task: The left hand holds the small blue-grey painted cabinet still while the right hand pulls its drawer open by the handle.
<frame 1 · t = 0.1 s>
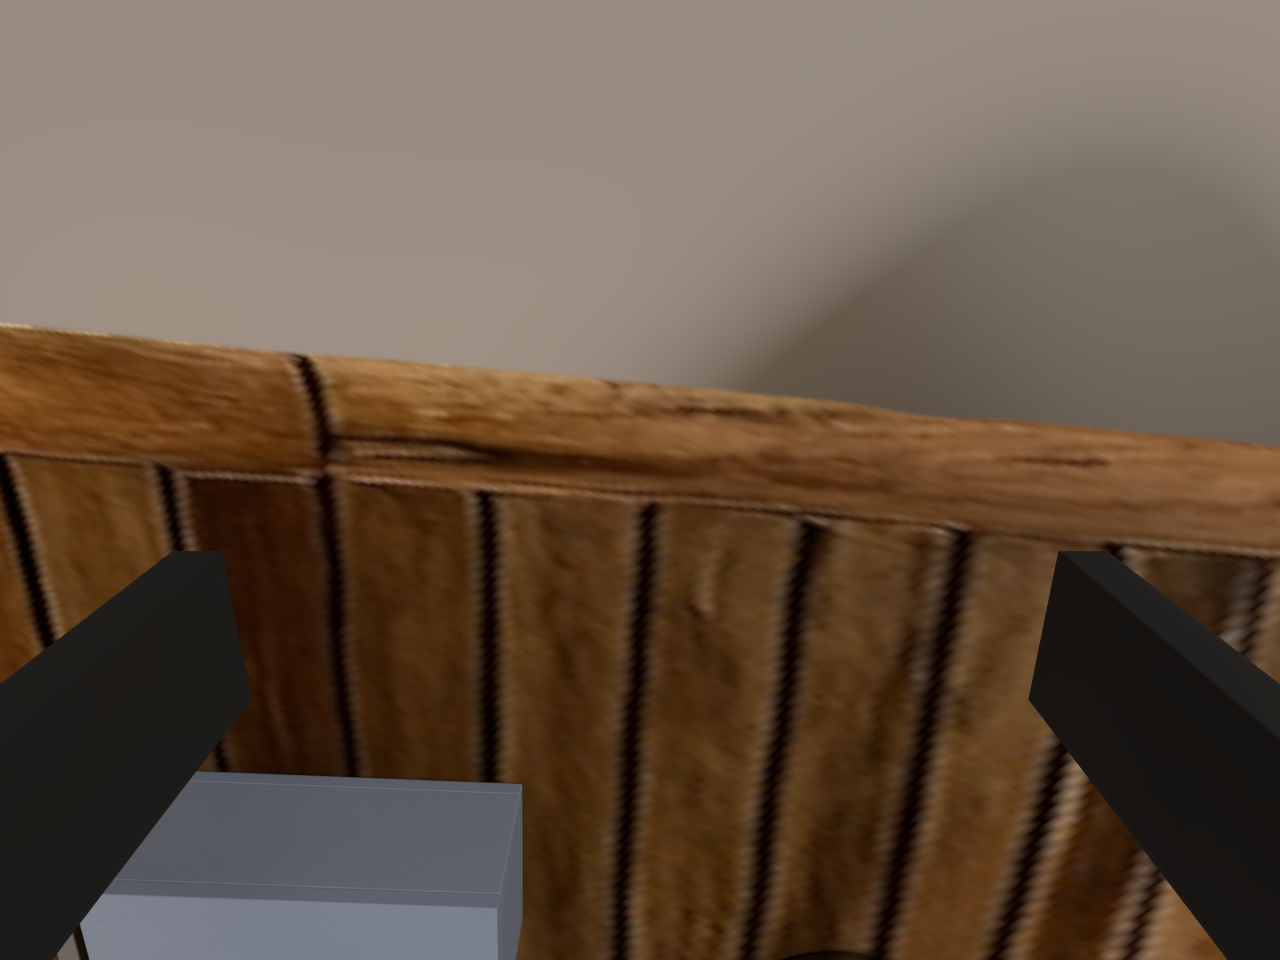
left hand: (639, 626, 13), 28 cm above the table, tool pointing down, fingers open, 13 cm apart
drawer: (223, 902, 46), point 5 cm above the table, slide at 1.3 cm
cabinet: (354, 846, 50), on the table
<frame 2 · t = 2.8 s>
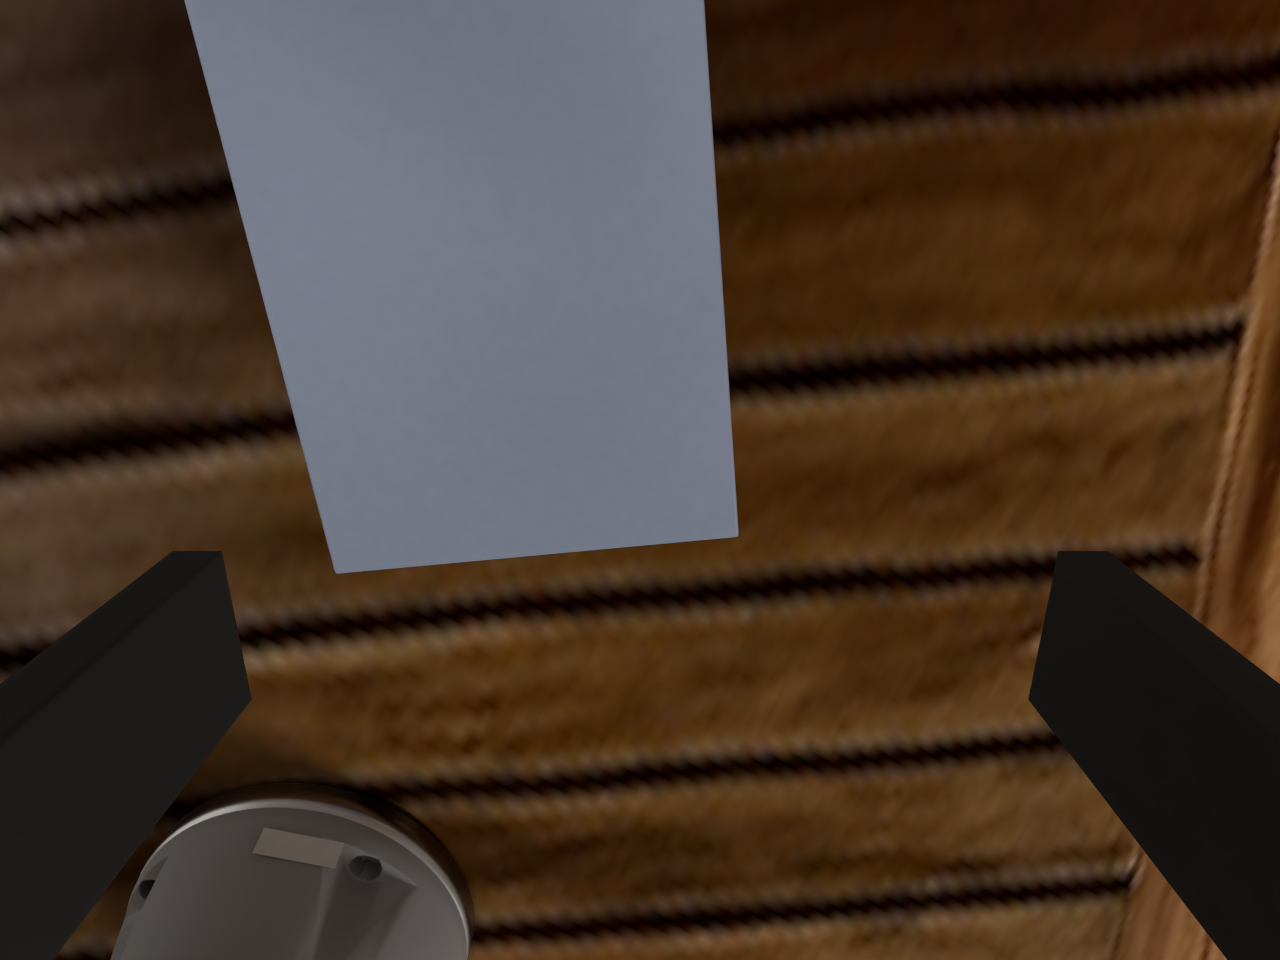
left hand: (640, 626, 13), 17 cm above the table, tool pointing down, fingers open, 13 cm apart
cabinet: (522, 145, 26), on the table
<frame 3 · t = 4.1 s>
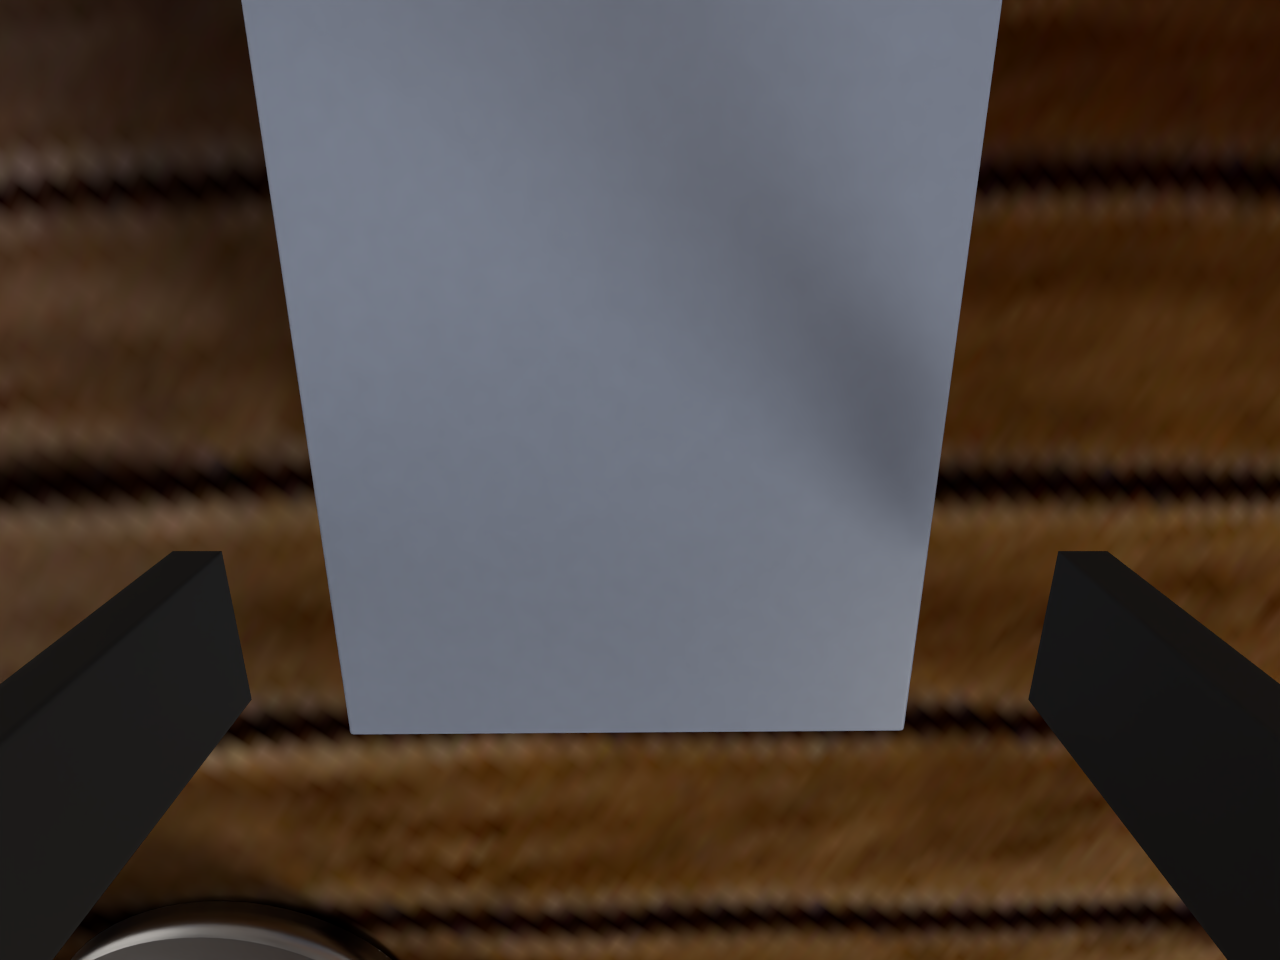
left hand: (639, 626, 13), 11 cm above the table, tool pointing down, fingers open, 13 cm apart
cabinet: (627, 169, 20), on the table
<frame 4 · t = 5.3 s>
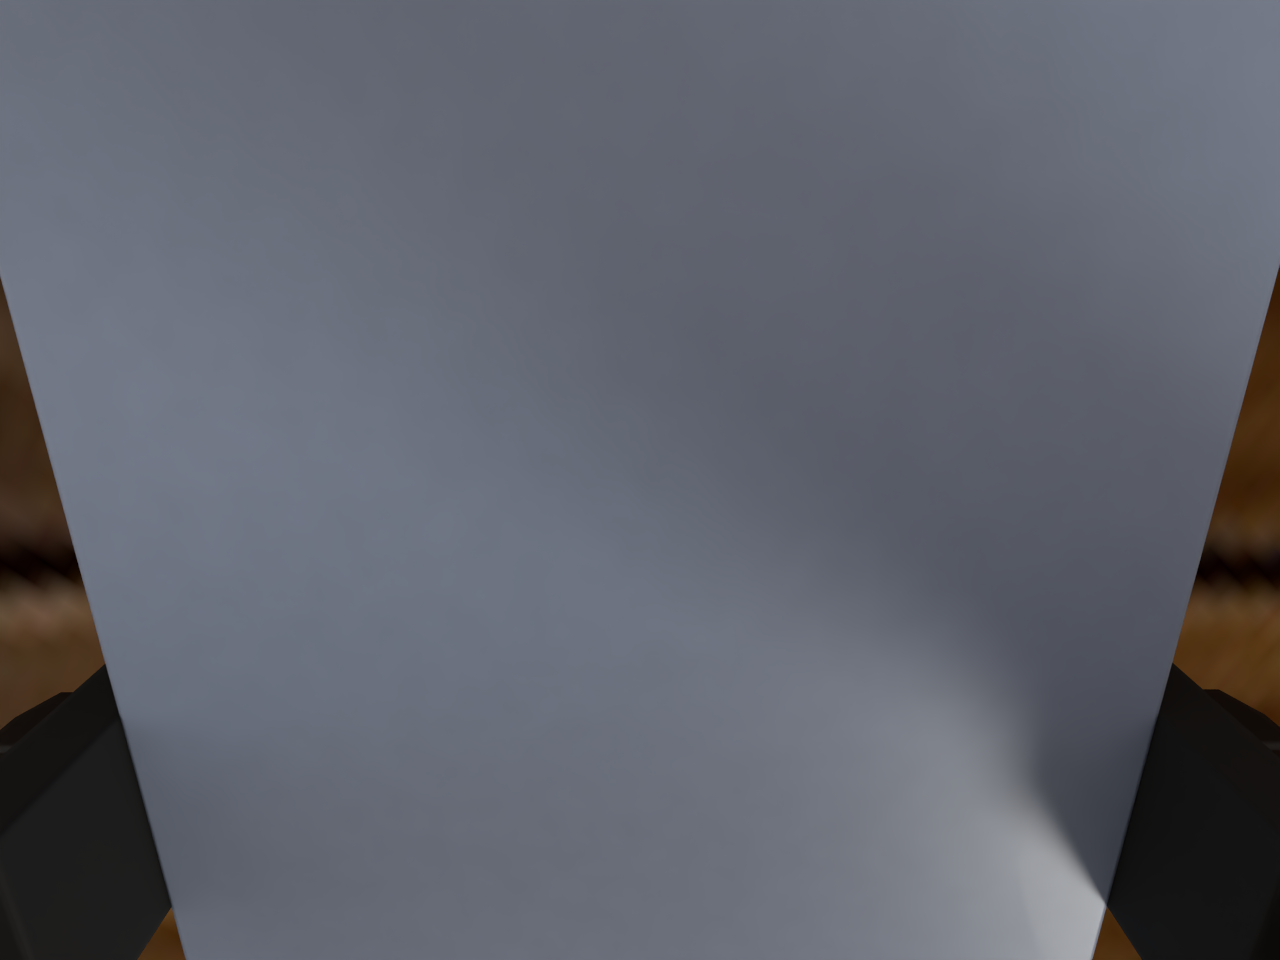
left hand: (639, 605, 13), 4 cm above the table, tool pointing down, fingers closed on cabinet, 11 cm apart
cabinet: (638, 148, 15), on the table, touching left hand
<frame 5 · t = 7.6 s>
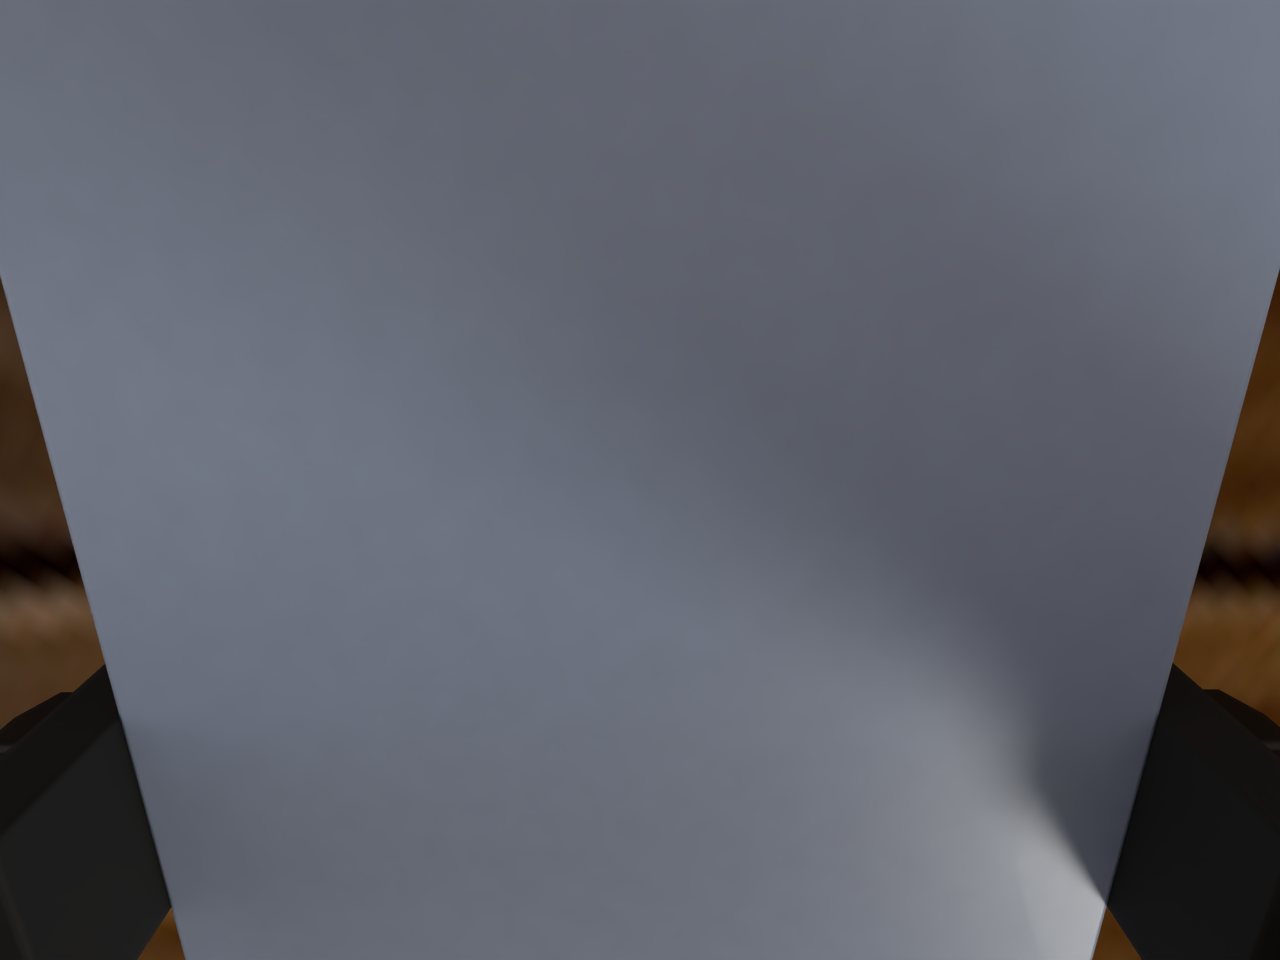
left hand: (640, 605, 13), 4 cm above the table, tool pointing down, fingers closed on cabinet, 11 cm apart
cabinet: (638, 148, 15), on the table, touching left hand
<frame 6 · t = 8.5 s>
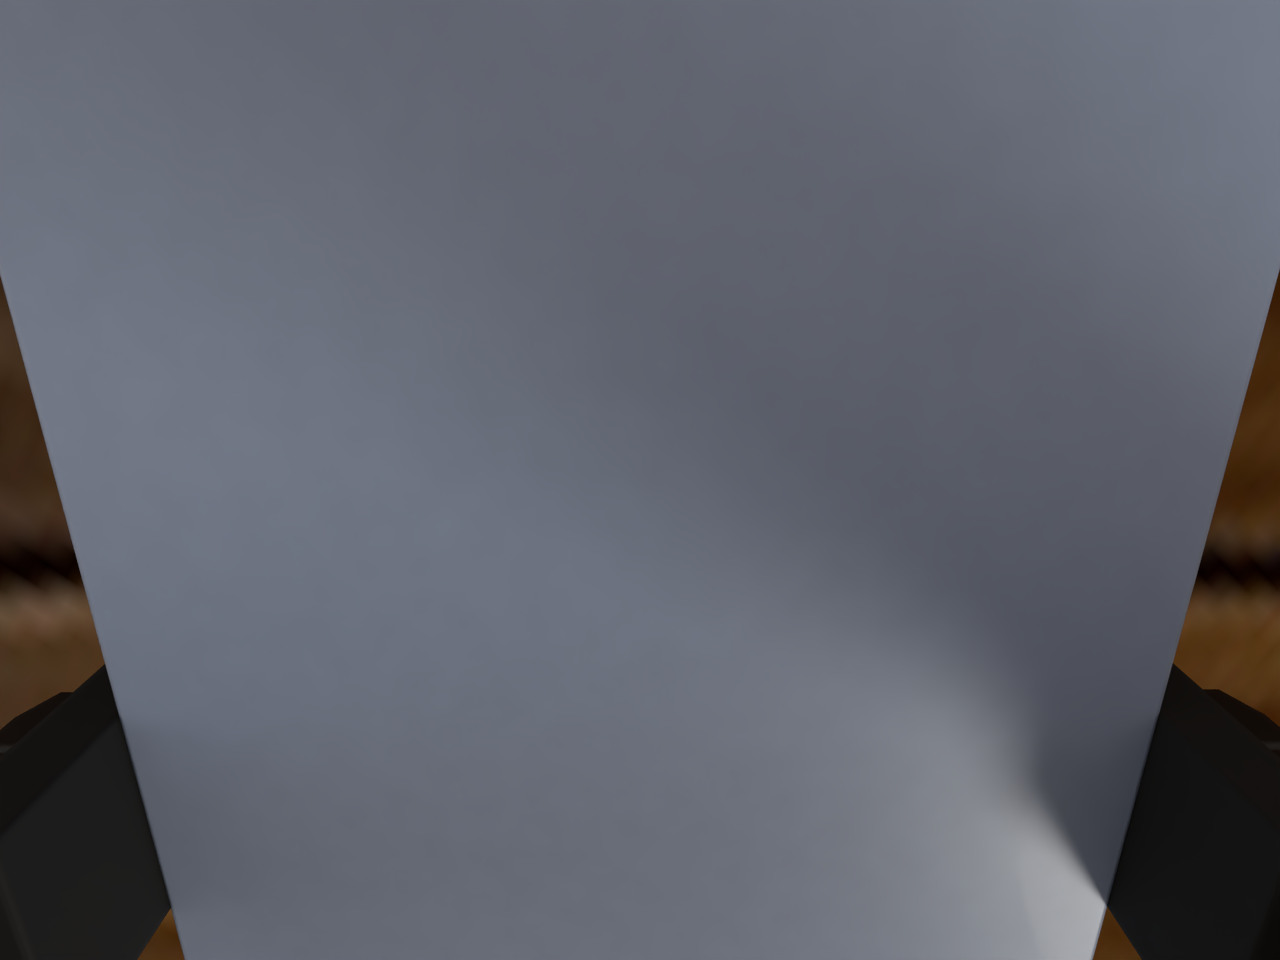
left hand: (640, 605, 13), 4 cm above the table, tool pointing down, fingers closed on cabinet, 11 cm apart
cabinet: (638, 148, 15), on the table, touching left hand
when the left hand's fingers open (4 cm above the table, at t = 10.2 s): cabinet stays where it is, on the table.
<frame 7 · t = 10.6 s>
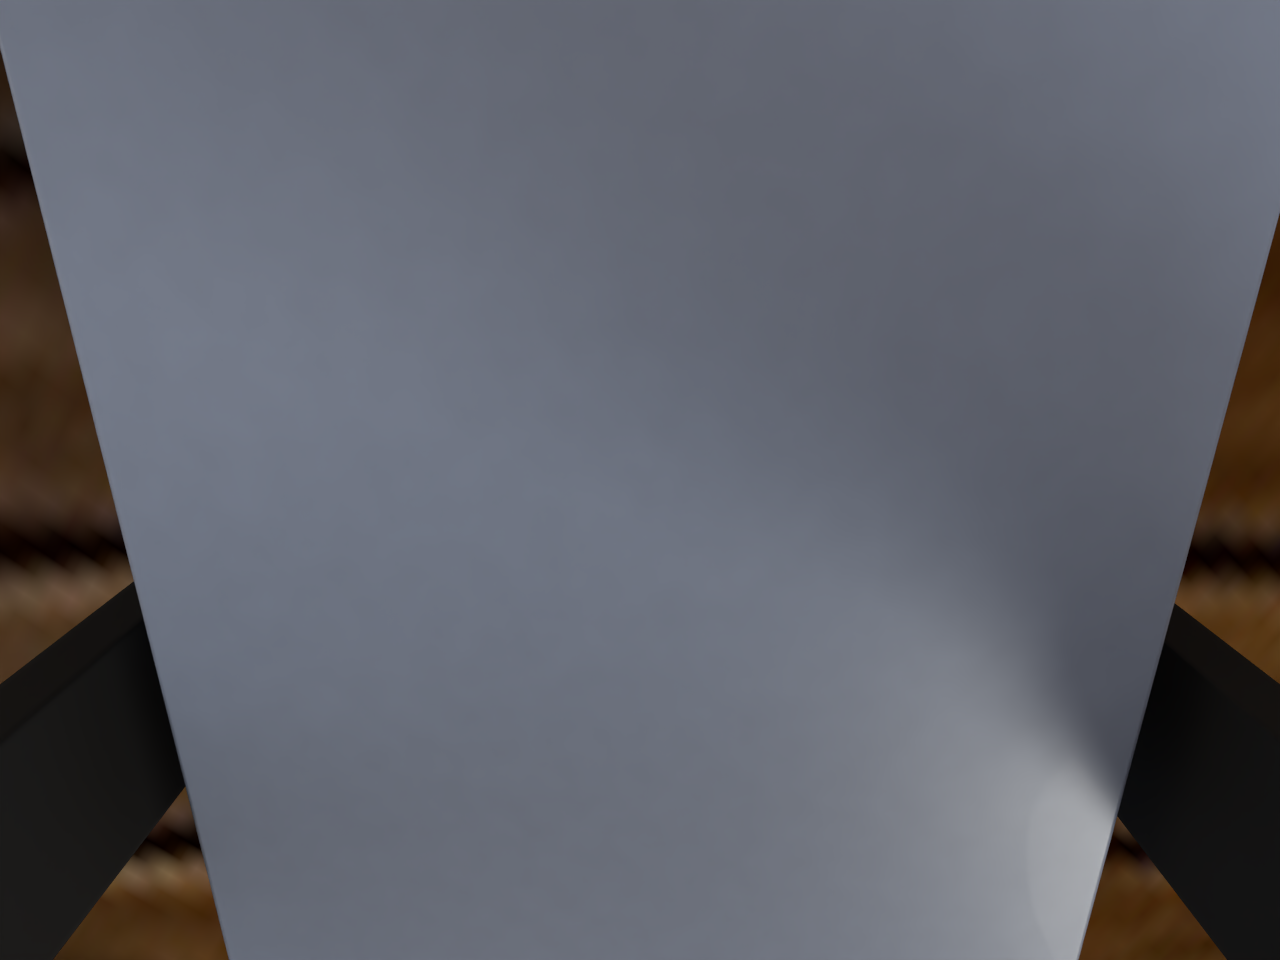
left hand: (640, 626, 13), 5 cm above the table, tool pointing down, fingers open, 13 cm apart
cabinet: (651, 125, 15), on the table
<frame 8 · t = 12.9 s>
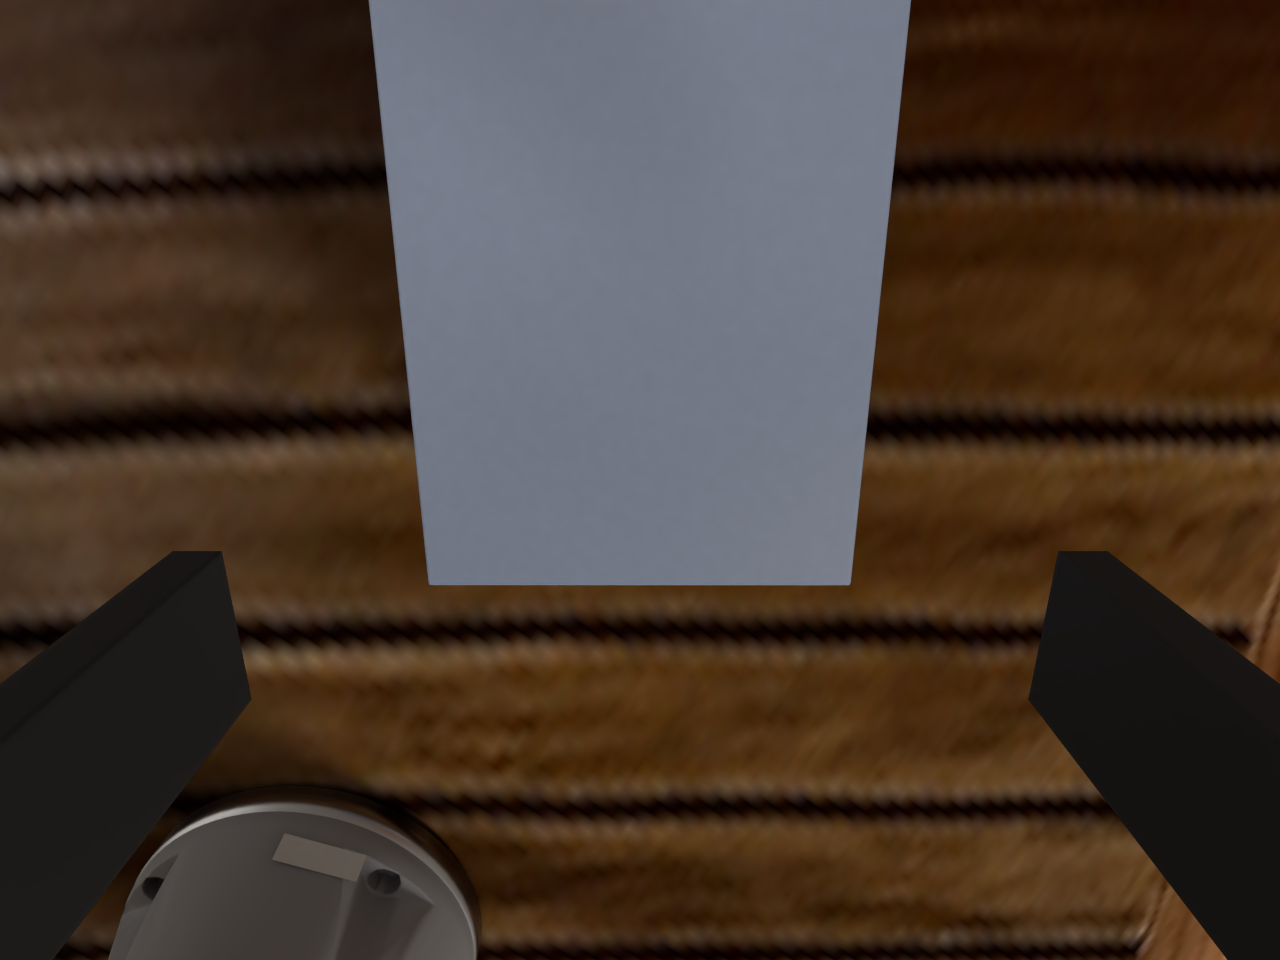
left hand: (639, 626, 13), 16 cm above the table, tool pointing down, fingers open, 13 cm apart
cabinet: (639, 156, 25), on the table
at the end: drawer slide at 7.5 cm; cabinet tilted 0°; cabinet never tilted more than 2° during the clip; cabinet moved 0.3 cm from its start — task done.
